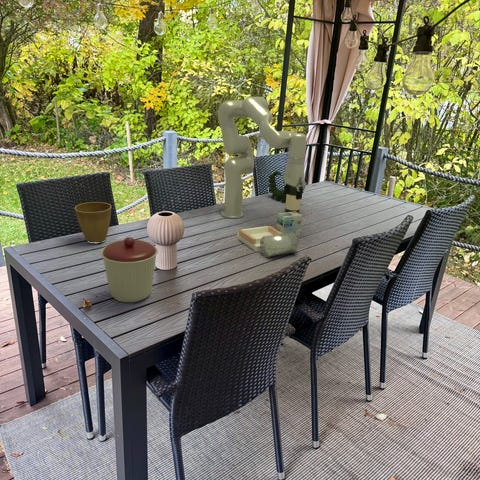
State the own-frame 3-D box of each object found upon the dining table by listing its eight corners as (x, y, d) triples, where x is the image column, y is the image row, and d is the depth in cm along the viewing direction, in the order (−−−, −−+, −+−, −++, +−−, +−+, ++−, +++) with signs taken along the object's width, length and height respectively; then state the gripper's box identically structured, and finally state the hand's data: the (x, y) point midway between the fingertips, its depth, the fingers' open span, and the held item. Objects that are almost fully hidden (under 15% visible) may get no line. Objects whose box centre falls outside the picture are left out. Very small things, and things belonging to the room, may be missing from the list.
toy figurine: (265, 201, 267) (298, 207, 252) (265, 171, 261) (299, 175, 246) (273, 198, 274) (307, 204, 258) (274, 169, 268) (308, 173, 252)
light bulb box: (282, 238, 203) (284, 217, 199) (275, 233, 209) (277, 212, 205) (300, 235, 208) (303, 215, 204) (292, 231, 213) (295, 211, 209)
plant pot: (103, 232, 196) (101, 199, 190) (119, 242, 186) (117, 208, 180) (71, 239, 186) (68, 205, 180) (87, 250, 176) (84, 214, 170)
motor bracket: (235, 237, 200) (237, 219, 197) (267, 233, 208) (268, 216, 205) (267, 260, 177) (269, 241, 174) (300, 254, 186) (303, 235, 182)
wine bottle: (282, 216, 235) (287, 162, 224) (286, 212, 243) (292, 160, 232) (296, 218, 233) (303, 164, 222) (300, 214, 240) (306, 162, 229)
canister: (92, 301, 139) (87, 241, 131) (124, 278, 155) (122, 224, 147) (139, 314, 133) (137, 253, 125) (167, 289, 149) (167, 234, 141)
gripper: (278, 157, 200) (276, 192, 206) (300, 164, 186) (296, 202, 192) (291, 157, 203) (288, 191, 210) (314, 163, 189) (310, 200, 196)
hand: (292, 196), depth 201 cm, fingers open, 9 cm apart
